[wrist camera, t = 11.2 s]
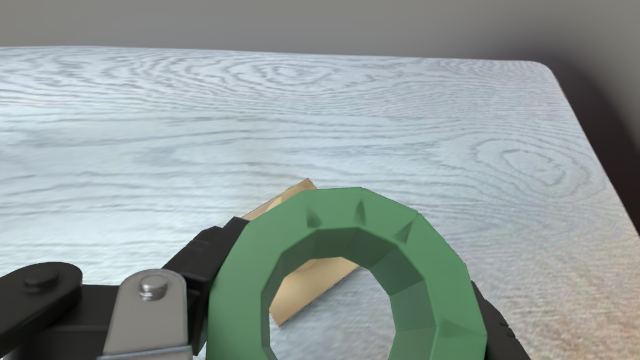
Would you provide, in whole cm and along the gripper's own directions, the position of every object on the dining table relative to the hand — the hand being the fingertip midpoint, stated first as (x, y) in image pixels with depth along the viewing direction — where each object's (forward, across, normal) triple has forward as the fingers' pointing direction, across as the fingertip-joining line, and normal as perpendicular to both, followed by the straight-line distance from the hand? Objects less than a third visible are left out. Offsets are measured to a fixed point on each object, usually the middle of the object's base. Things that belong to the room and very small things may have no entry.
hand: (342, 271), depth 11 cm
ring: (-1, 0, +1) cm, 2 cm away
